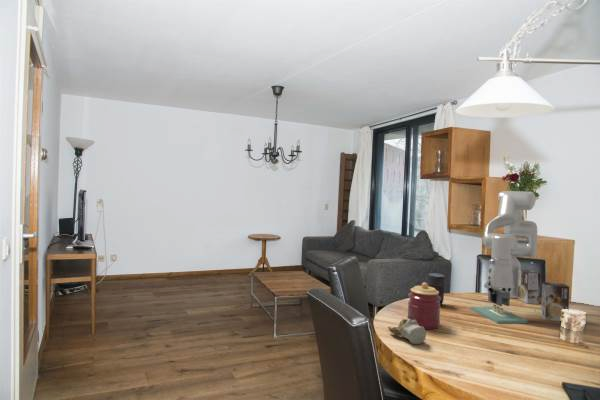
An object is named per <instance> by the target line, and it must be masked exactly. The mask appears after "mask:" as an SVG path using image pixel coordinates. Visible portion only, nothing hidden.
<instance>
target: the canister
mask: <svg viewBox="0 0 600 400" xmlns="http://www.w3.org/2000/svg"><path fill="white" fill-rule="evenodd" d="M410 291H411V292H409V293H408V295H407V296H408V297H409V299H408V302H407V304H408V305H407V317H406V319H409V317H412V318H413V319H415V320H416V321H417V323H418V325H419V326H422V327H424V329H425V330H436V329H438V328H439V327H440V324H441V319H440V318H441V317H440V316H441V307H442V306H440V304H439V301H440V300H441V297H440V296H438V294H439V292H438V291H437V290H436V289H435V288H433V287H429V286H428V284H427V282H424V281H423V282H422V283H421V285H414V287H411V288H410Z"/></svg>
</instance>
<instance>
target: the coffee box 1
mask: <svg viewBox="0 0 600 400" xmlns="http://www.w3.org/2000/svg"><path fill="white" fill-rule="evenodd" d="M540 287H541V273H540V272H538V271H534V270H531V269H521V270H519V284H518V298H517V300H519V301H522V302H524V303H525V304H530V305H531V304H532V305H539V303H540Z"/></svg>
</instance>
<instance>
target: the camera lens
mask: <svg viewBox="0 0 600 400" xmlns="http://www.w3.org/2000/svg"><path fill="white" fill-rule="evenodd" d="M445 279H446V278H445V275H444V274H441V273H435V272H429V273H428V274H427V279H426V281H427V282H426V283H427V284H428V286H429V287H433V288H435V289H436V290H437V291H438V292H439V294H438V296H440V297H441V300H440V301H439V304H440V306H441V307H442V306H443V303H444V297H445V295H444V294H445V293H444V291H445V281H446V280H445Z"/></svg>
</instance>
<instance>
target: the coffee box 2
mask: <svg viewBox="0 0 600 400" xmlns="http://www.w3.org/2000/svg"><path fill="white" fill-rule="evenodd" d="M569 301H570V286H569V285H567V284H565V283H557V282H549V281H548V282H547V281H542V282H541V307H540V317H542V318H543V319H544V320H545V321H551V322H560V317H561V310H562V309H568V310H569V308H570V305H569V304H570V302H569Z"/></svg>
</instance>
